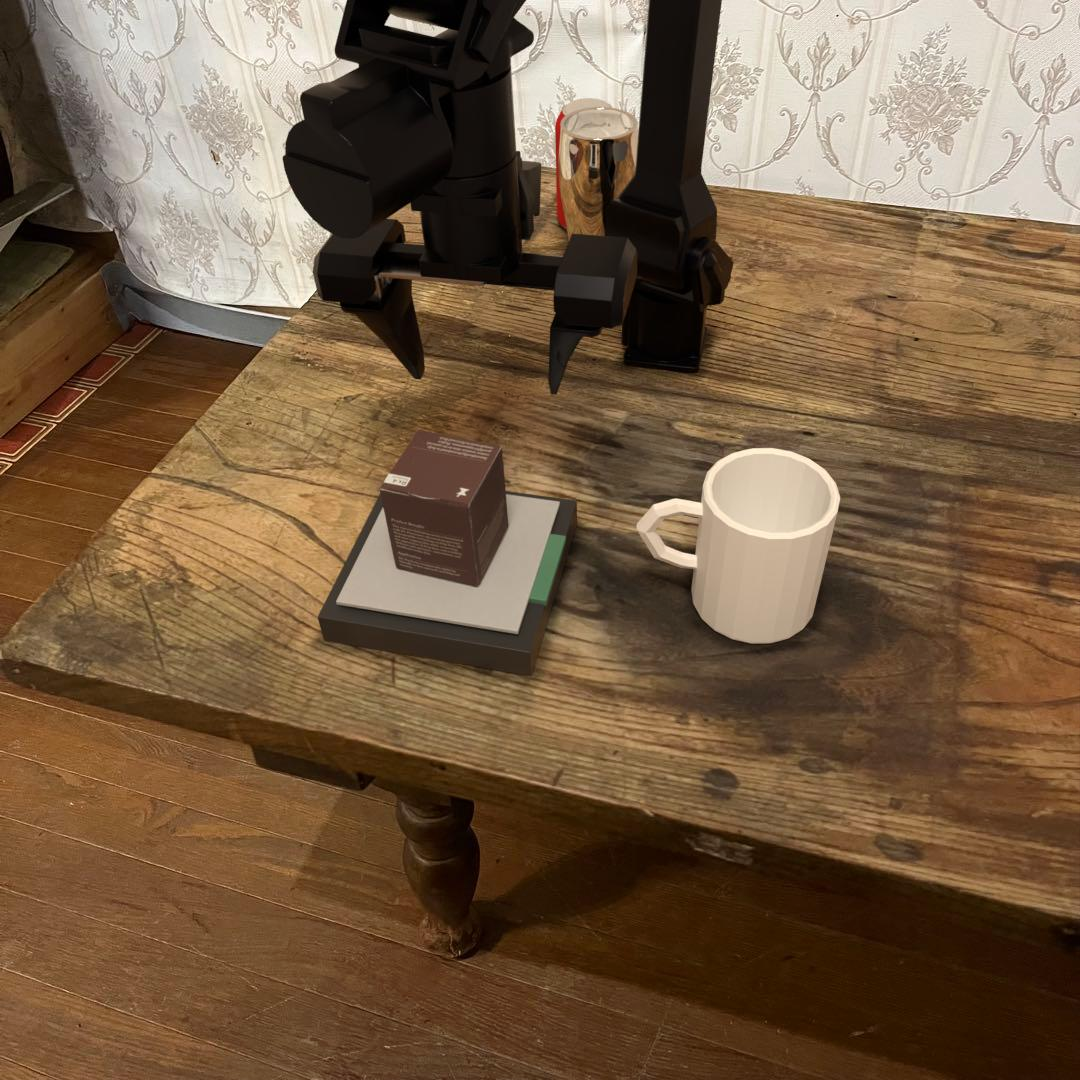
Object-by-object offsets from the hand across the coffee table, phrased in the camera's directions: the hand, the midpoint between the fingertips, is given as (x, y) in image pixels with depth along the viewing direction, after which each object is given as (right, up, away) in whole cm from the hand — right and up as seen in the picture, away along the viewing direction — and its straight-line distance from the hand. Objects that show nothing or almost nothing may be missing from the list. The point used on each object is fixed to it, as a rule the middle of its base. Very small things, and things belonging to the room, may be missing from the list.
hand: (486, 383), depth 68 cm
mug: (+16, -14, +1) cm, 21 cm away
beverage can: (+8, +22, +38) cm, 44 cm away
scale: (-2, -13, +3) cm, 14 cm away
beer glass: (+9, +14, +30) cm, 35 cm away
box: (-2, -11, +1) cm, 11 cm away
